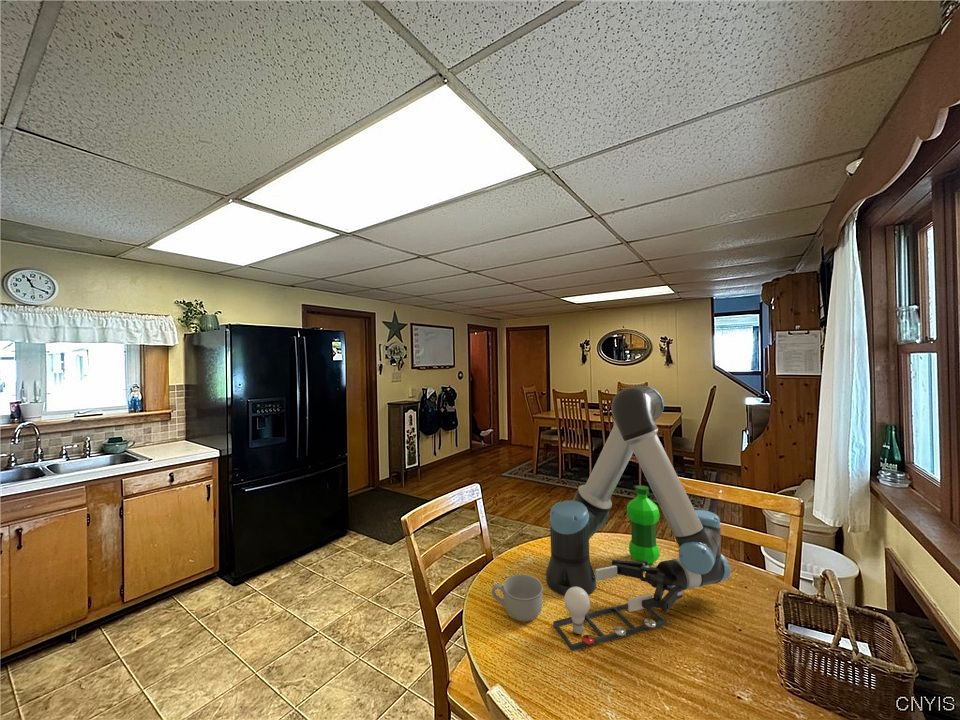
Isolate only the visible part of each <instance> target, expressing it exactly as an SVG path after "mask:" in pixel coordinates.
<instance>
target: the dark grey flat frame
mask: <svg viewBox="0 0 960 720" xmlns="http://www.w3.org/2000/svg"><path fill="white" fill-rule="evenodd" d="M625 610H628V602H626V603H623V604H619V605H615V606H610V607H607V608H603V609H599V610H594V611H590V612H587V614H586V615H585V619H584V621H585V622H586V623H587V624H588V625H589V626H590V627H591V628H592V630H593V631H594V632H595V633H596V634H597V635H598V636H596V637H593V636H592V635H590V634H583V636H581V637H582V638H581V641H579V642H575V643H572V642H571V641H570V640H569V637H568V636H566V634H565V633H564V632H563V630H562V629H561V628H560V627H561V626H565V625H569V624H573V622H572V619H571V616H569V617H565V618H561V619H558V620H554V621H553V622H552V627H553V628H554V630H556V632H557V634H558V635H559V636H560V637H561V639H562V641H563V642H564V643H565V645H566V646H567V647H568V648H569V650H570V651H571V652H573V651H577V650H580V649H584V648H589V647H592V646H595V645H598V644H602V643H606V642H610V641H614V640H616V639H617V640H618V639H621V638H624V637H627V636H631V635H635V634H638V633H639V634H640V633H643V632H646V631H649V630H653V629H654V630H655V629H658V628H661V627H664V626H667V620H666V619H665V618H664V617H662V616H661V615H660V614H659V613H658V612H657V611H656V610H654V608H649V609H645V610H646V611H647V612H648V613H650V614H651V616H653V617H654V618H655V619H656V620H657V621H655V620H654V619H652V618H645V619H644V620H643V624H642V625H641V624H640V625H638V626H635V625H634V624H633V623H632V622H631V621H630V620H629V619H628V618H627V617H626V616H625V615H624V614H622V613H621V611H625ZM609 614H615V615H616V616H617V617H618V618H619V619H620V620H621V621H622V622H623V623H624V624H625V625H626V626H627V627H628V629H626V628H624V627H622V626H615V627H614V628H613V632H611V633H609V634H608V633H607V634H604V633H603V631H602V630H601V629H600V628H599V627H598V626H597V625H596V624H595V623H594V621H593V620H592V619H593V618H597V617H601V616H604V615H609Z"/></svg>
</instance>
